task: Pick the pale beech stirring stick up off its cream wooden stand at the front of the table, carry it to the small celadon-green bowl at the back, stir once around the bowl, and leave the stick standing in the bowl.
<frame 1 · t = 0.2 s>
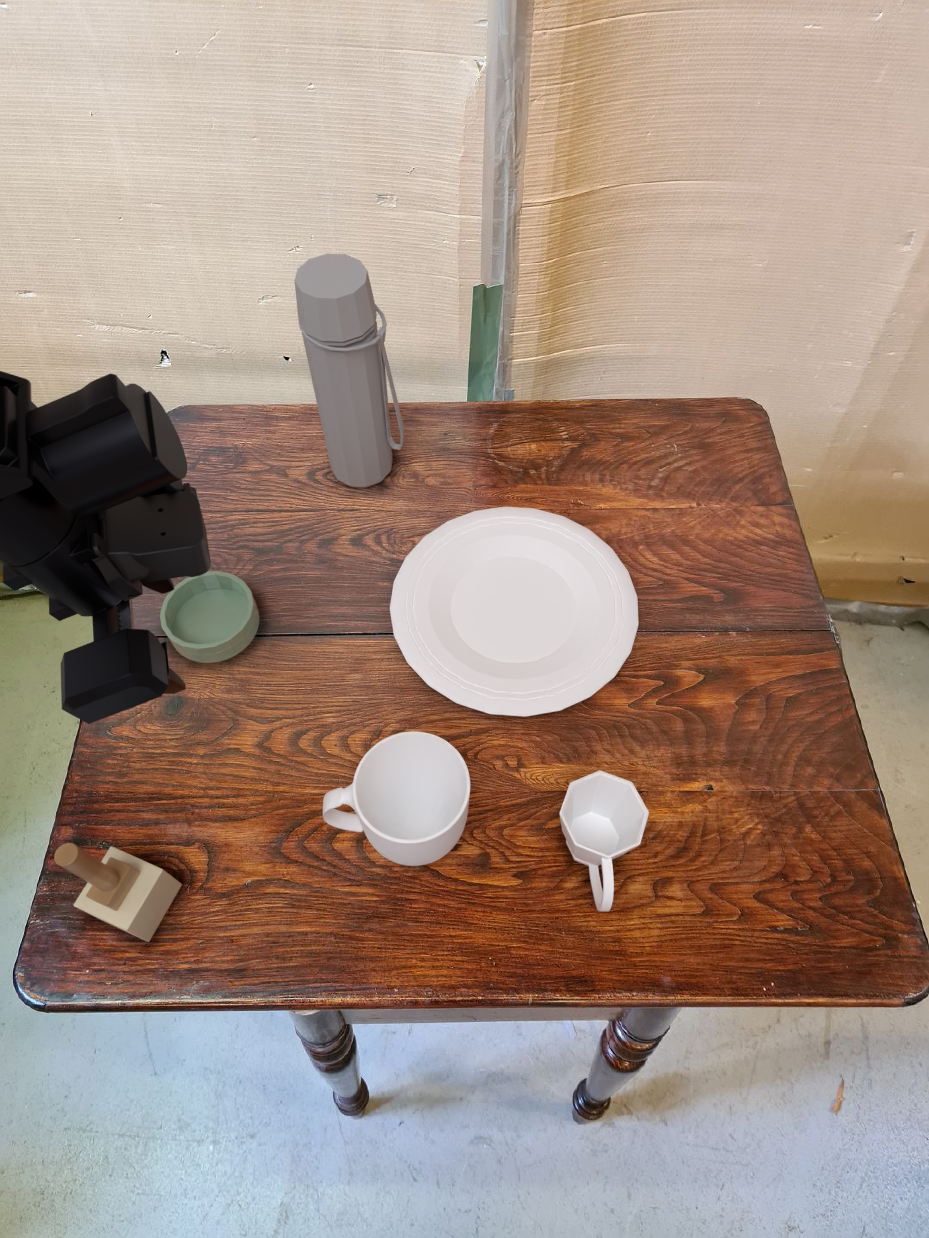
hand: (174, 638, 61), 16 cm above the table, tool pointing down, fingers open, 9 cm apart
stick stand: (140, 901, 66), on the table
plate: (513, 612, 81), on the table
cup: (592, 859, 68), on the table
mug: (403, 833, 70), on the table
bowl: (215, 624, 81), on the table
water bottle: (370, 471, 92), on the table
stirring stick: (118, 887, 62), point 5 cm above the table, touching stick stand
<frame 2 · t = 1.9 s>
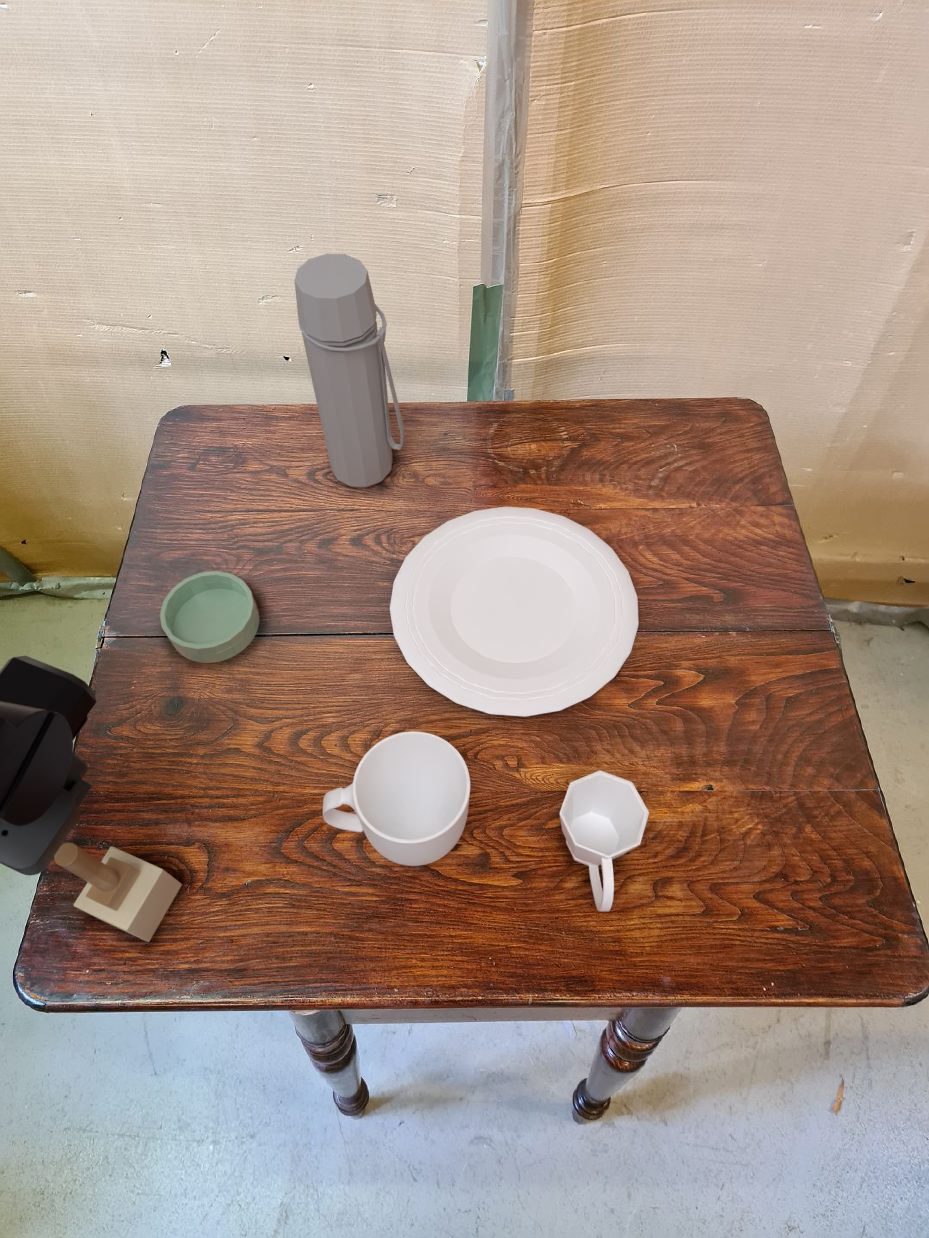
hand: (28, 837, 56), 13 cm above the table, tool pointing down, fingers open, 9 cm apart
nothing on the table moved.
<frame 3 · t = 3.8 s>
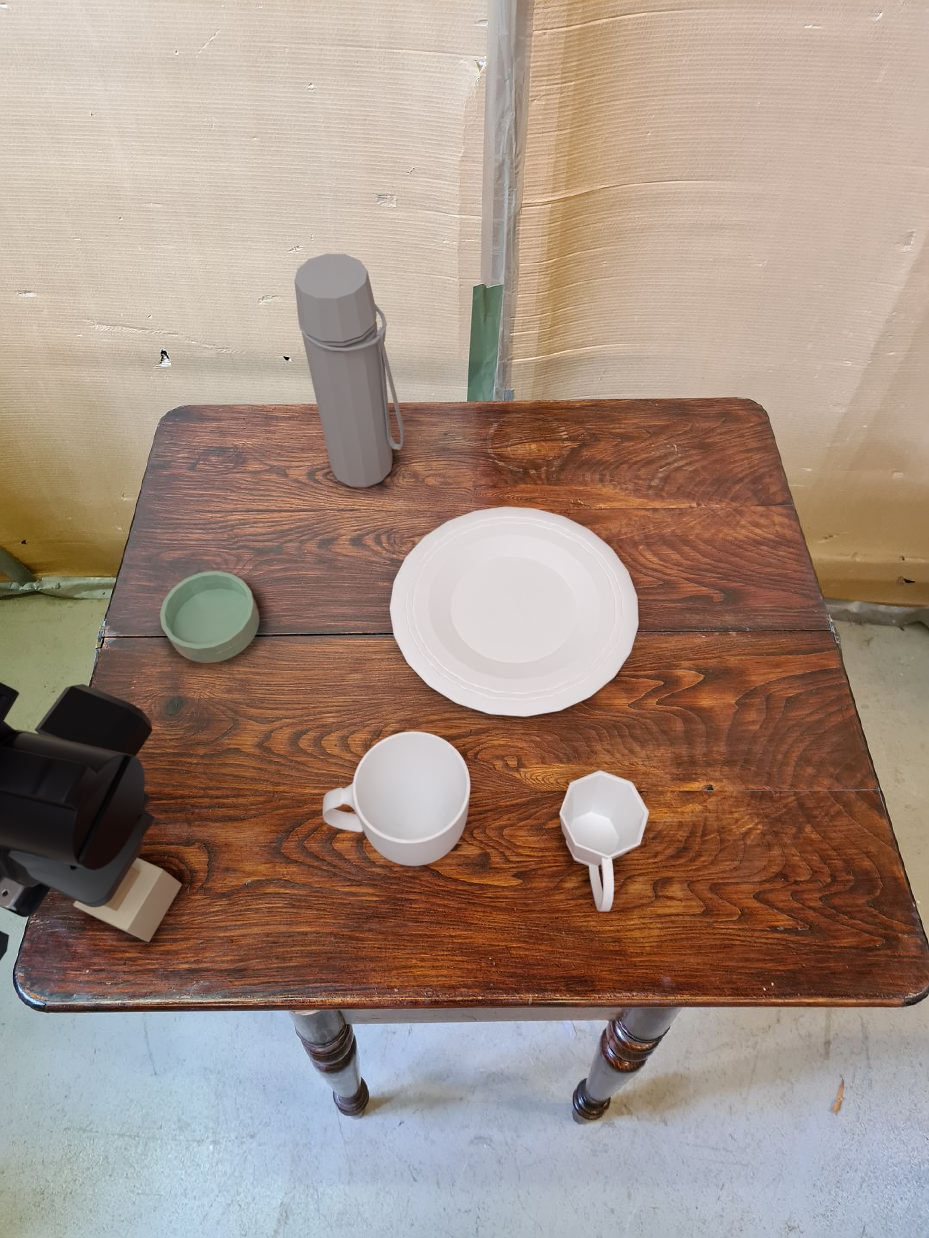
hand: (80, 863, 56), 12 cm above the table, tool pointing down, fingers closed on stirring stick, 1 cm apart
stirring stick: (118, 887, 62), point 5 cm above the table, touching gripper, stick stand
everything else where it was.
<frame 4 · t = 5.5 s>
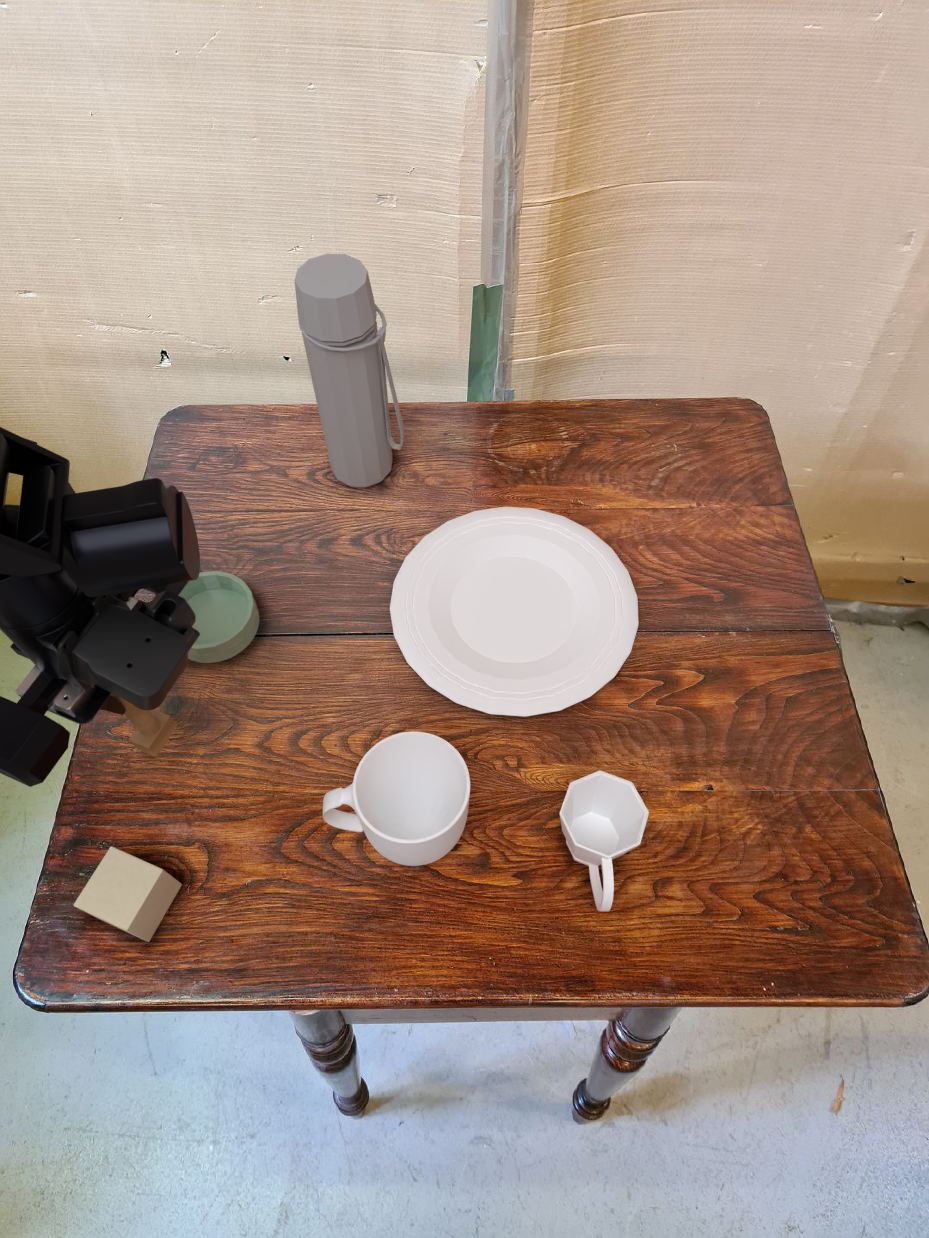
hand: (126, 700, 62), 13 cm above the table, tool pointing down, fingers closed on stirring stick, 2 cm apart
stirring stick: (157, 737, 68), point 6 cm above the table, touching gripper
everything else where it was.
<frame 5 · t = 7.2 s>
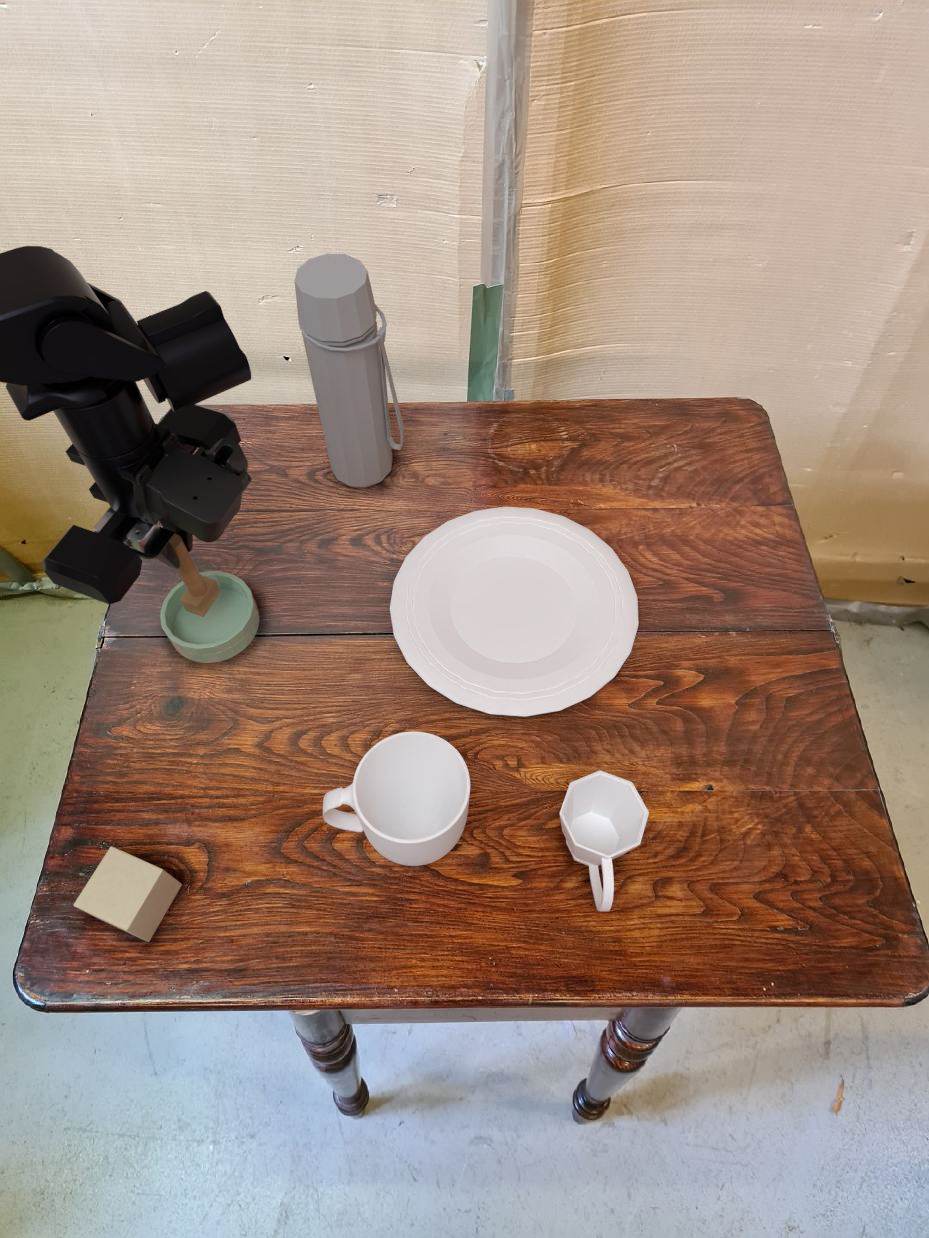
hand: (180, 558, 70), 12 cm above the table, tool pointing down, fingers closed on stirring stick, 2 cm apart
stirring stick: (203, 601, 76), point 5 cm above the table, touching gripper
everything else where it was.
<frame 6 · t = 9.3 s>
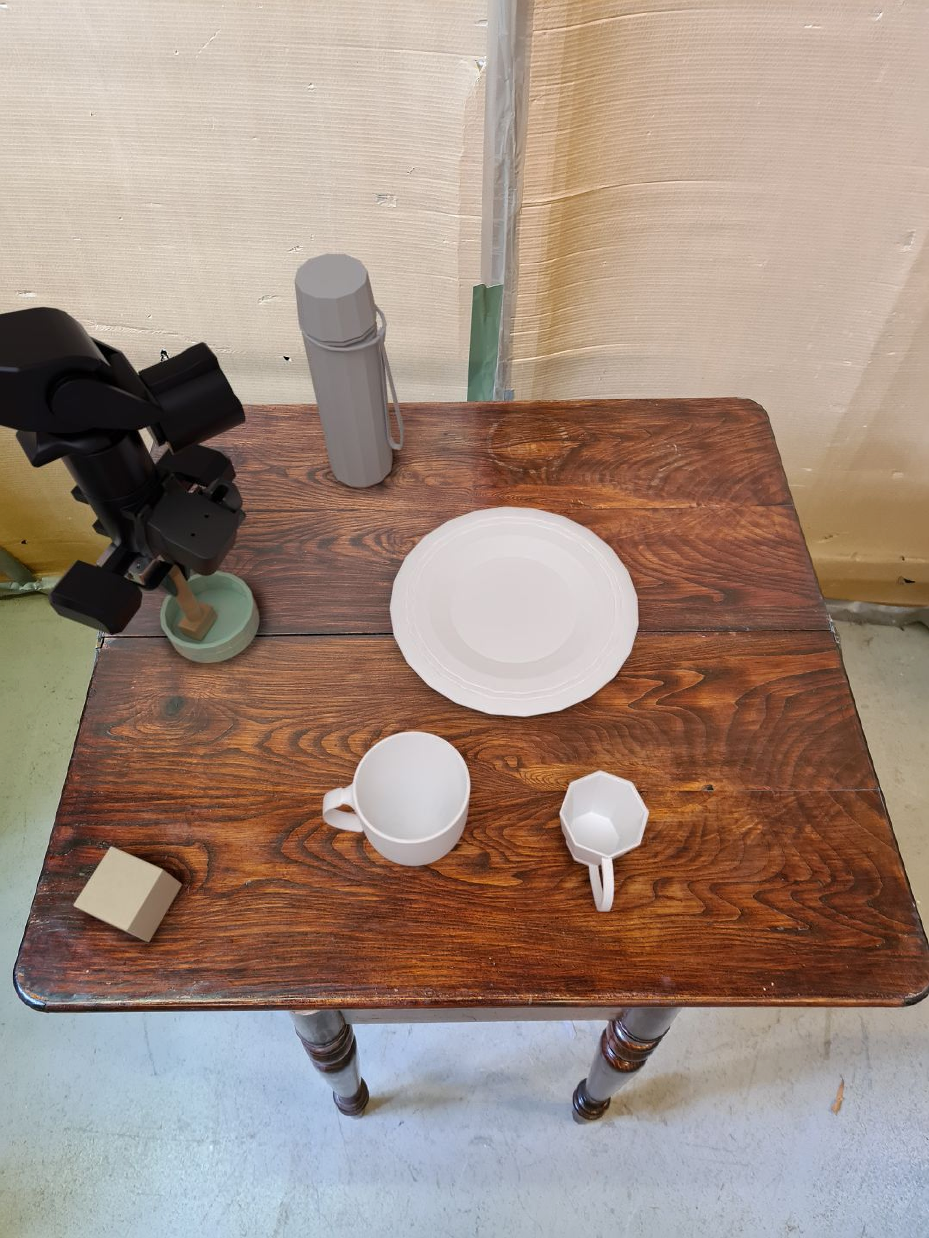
hand: (178, 586, 74), 8 cm above the table, tool pointing down, fingers closed on stirring stick, 2 cm apart
stirring stick: (200, 626, 80), point 1 cm above the table, touching gripper
everything else where it was.
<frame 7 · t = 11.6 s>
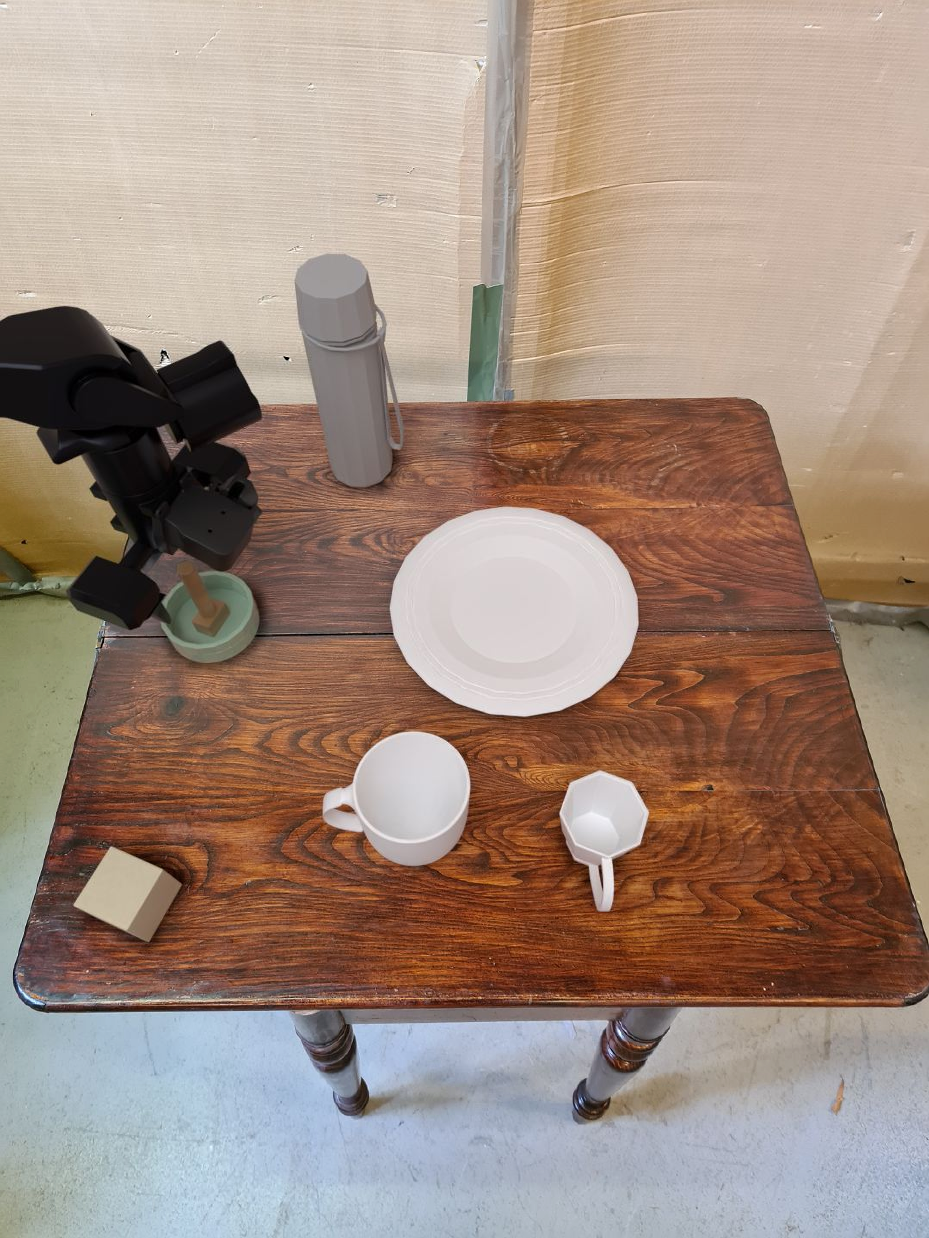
hand: (193, 582, 74), 7 cm above the table, tool pointing down, fingers open, 9 cm apart
stirring stick: (213, 622, 80), resting on bowl
everything else where it was.
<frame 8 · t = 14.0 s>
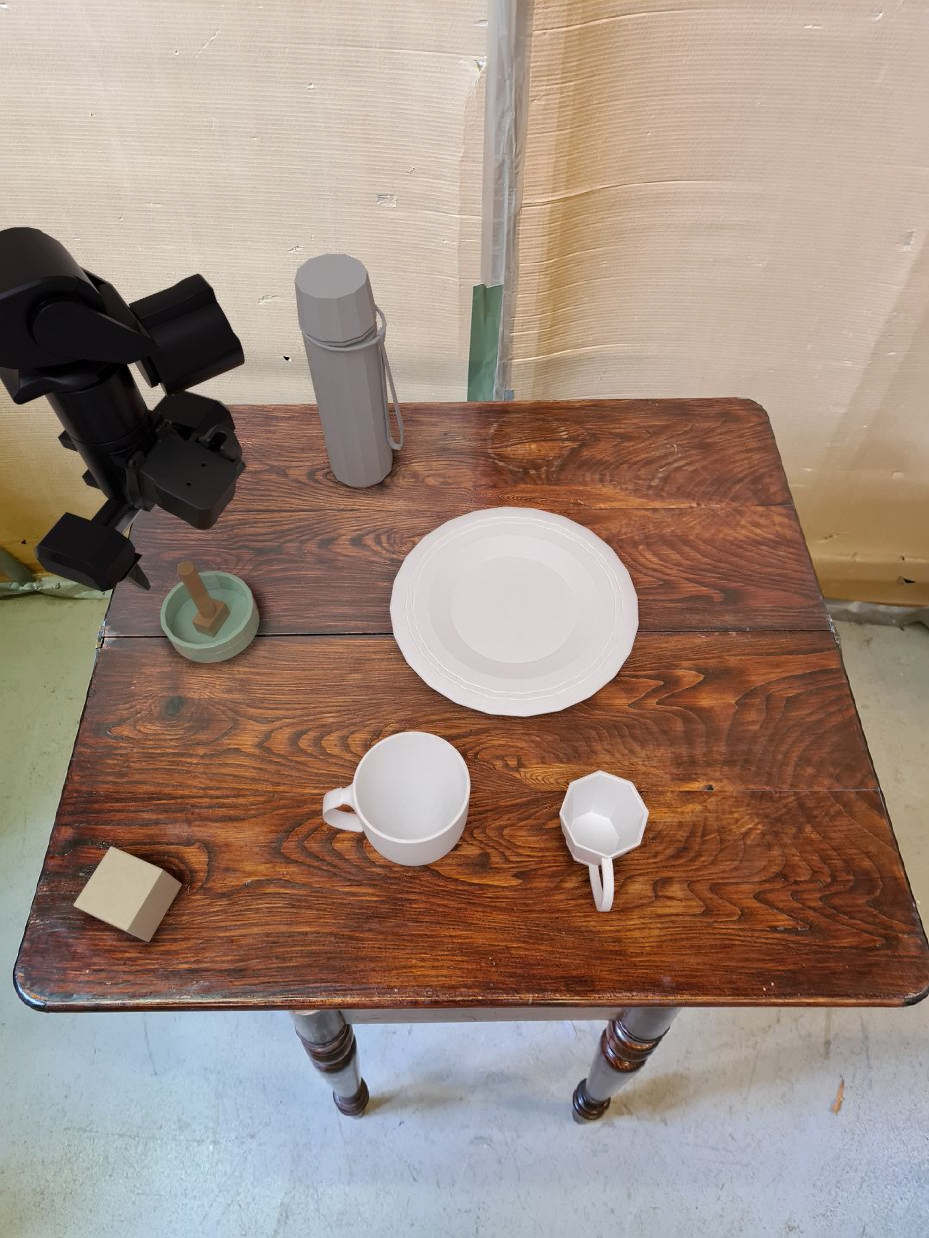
hand: (174, 547, 70), 13 cm above the table, tool pointing down, fingers open, 9 cm apart
nothing on the table moved.
at the end: stirring stick 0.1 cm off-centre in the bowl, point 0.5 cm above the bowl's base; the gripper is holding nothing; stirring stick moved 27.5 cm from its start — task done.
